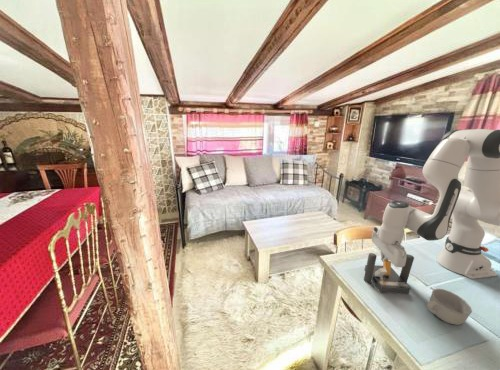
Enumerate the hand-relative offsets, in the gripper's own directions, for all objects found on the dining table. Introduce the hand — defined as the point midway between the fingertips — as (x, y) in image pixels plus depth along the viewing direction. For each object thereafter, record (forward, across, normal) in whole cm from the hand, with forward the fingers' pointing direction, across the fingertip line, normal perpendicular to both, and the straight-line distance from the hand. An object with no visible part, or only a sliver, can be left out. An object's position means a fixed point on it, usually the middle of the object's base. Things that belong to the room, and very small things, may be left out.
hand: (383, 261), depth 94 cm
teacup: (+9, -20, -12) cm, 25 cm away
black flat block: (+8, -3, 0) cm, 9 cm away
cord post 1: (+8, -3, +8) cm, 12 cm away
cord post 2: (+8, -3, -8) cm, 12 cm away
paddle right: (+5, -3, +4) cm, 8 cm away
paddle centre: (+5, -3, 0) cm, 6 cm away
